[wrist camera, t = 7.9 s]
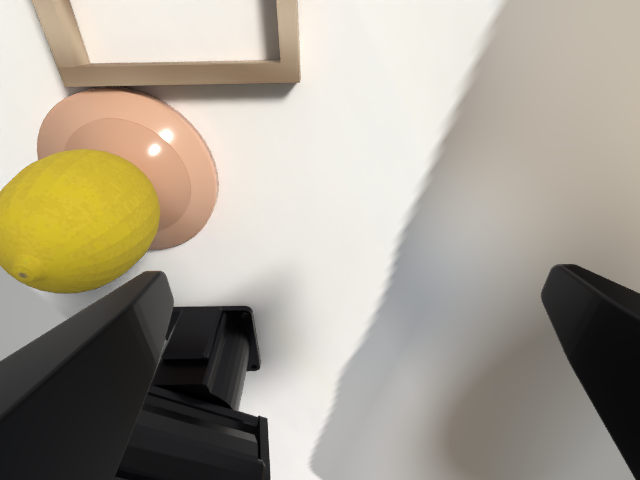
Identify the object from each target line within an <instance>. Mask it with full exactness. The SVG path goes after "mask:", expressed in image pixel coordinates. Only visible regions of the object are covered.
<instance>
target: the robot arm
mask: <svg viewBox="0 0 640 480" xmlns="http://www.w3.org/2000/svg"><path fill="white" fill-rule="evenodd" d="M541 299H542V303H543V305H544V307H545V309H546V312H547V314H548V316H549V319H550V321H551V323H552V326H553V328H554V330H555V332H556V334H557V337H558V339H559V341H560V343H561V346H562V348H563V351H564V353H565V355H566V357H567V359H568V361H569V363H570V365H571V366H572V368H573V370H574V372H575V374H576V376H577V377H578V379H579V381H580V383H581V384H582V386H583V388H584V390H585V391H586V393H587V395H588V397H589V399H590V400H591V402H592V404H593V406H594V407H595V409H596V410H597V413H598V414H599V416H600V418H601V420H602V421H603V423H604V425H605V427H606V428H607V430H608V432H609V434H610V435H611V437H612V439H613V441H614V442H615V444H616V446H617V447H618V450H619V451H620V453H621V455H622V457H623V458H624V460H625V462H626V464H627V465H628V467H629V469H630V471H631V472H632V474H633V476H634V478H635V479H636V480H640V293H637V292H635V291H633V290H631V289H629V288H626V287H624V286H622V285H620V284H617V283H615V282H613V281H611V280H609V279H606V278H604V277H602V276H600V275H597V274H595V273H593V272H591V271H589V270H586V269H584V268H582V267H580V266H577V265H575V264H557V265H555V266H553V267H552V268H551V270H550V272H549V275H548V277H547V280H546V282H545V284H544V287H543V289H542V292H541ZM173 304H174V301H173V296H172V293H171V289H170V286H169V283H168V280H167V277H166V275H165V273H164V272H162V271H146V272H143V273H141V274H140V275H138V276H136V277H135V278H133V279H132V280H130V281H128V282H127V283H125V284H124V285H122V286H120V287H119V288H117V289H116V290H114V291H112V292H111V293H109V294H108V295H106V296H104V297H103V298H101V299H100V300H98V301H96V302H95V303H93V304H92V305H90V306H88V307H87V308H85V309H83V310H82V311H80V312H79V313H77V314H75V315H74V316H72V317H71V318H69V319H67V320H66V321H64V322H63V323H61V324H60V325H58V326H56V327H55V328H53V329H51V330H50V331H48V332H47V333H45V334H43V335H42V336H40V337H39V338H37V339H35V340H34V341H32V342H30V343H29V344H27V345H26V346H24V347H22V348H21V349H19V350H18V351H16V352H14V353H13V354H11V355H10V356H8V357H7V358H5V359H3V360H2V361H0V480H270V459H269V441H268V422H267V418H265V417H261V416H258V417H256V416H253V415H249V414H246V413H243V412H240V411H239V405H240V400H241V395H242V390H243V385H244V380H245V375H246V371H257V370H259V369H260V365H261V360H260V354H259V348H258V342H257V335H256V329H255V323H254V317H253V311H252V309H251V308H250V307H247V306H221V307H173ZM244 313H247V314H244ZM165 337H166V340H167V343H166V345H165V347H164V349H163V352H162V348H163V344H164V340H165ZM161 352H162V354H161ZM160 355H161V358H160ZM159 359H160V360H159Z"/></svg>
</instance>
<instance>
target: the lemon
mask: <svg viewBox="0 0 640 480" xmlns="http://www.w3.org/2000/svg"><path fill="white" fill-rule="evenodd" d="M159 219H160V206H159V200H158V196H157V193H156V191H155V189H154V187H153V185H152V183H151V182H150V180H149V179H148V178H147V176H146V175H145V174H144V173H143V172H142V171H141V170H140V169H139V168H138V167H136V166H135V165H134V164H133V163H131V162H129V161H128V160H126V159H124V158H123V157H120V156H117V155H114V154H112V153H109V152H106V151H99V150H92V149H79V150H69V151H62V152H58V153H55V154H52V155H50V156H47V157H45V158H43V159H40V160H38V161H36V162H34V163H32V164H30V165H29V166H27V167H25V168H24V169H23V170H22V171H20V172H19V173H18V174H17V175H16V176H15V177H14V178H13V179H12V180H11V181H10V182H9V183H8V184H7V185H6V186H5V187H4V188H3V189H2V190H1V191H0V266H1V267H2V268H3V269H4V270H5V271H6V272H7V273H8V274H10V275H11V276H12V277H14V278H15V279H17V280H18V281H20V282H22V283H24V284H26V285H28V286H30V287H33V288H35V289H38V290H42V291H48V292H53V293H79V292H84V291H89V290H93V289H96V288H99V287H101V286H103V285H105V284H107V283H109V282H111V281H113V280H115V279H117V278H118V277H120V276H121V275H123V274H124V273H125V272H127V271H128V270H129V269H130V268H131V267H132V266H133V265H134V264H135V263H136V262H137V261H138V260H139V259H140V258H141V257H142V256H143V255H144V254H145V253H146V252H147V250H148V249H149V247H150V245H151V243H152V241H153V239H154V237H155V235H156V233H157V230H158V226H159Z"/></svg>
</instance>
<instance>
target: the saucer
mask: <svg viewBox="0 0 640 480" xmlns="http://www.w3.org/2000/svg"><path fill="white" fill-rule="evenodd" d="M79 149H92V150H99V151H106V152H109V153H112V154H114V155H117V156H120V157H123V158H124V159H126V160H128V161H129V162H131V163H133V164H134V165H135V166H136V167H138V168H139V169H140V170H141V171H142V172H143V173H144V174H145V175H146V176H147V178H148V179H149V180H150V182H151V183H152V185H153V187H154V189H155V191H156V193H157V196H158V200H159V206H160V219H159V226H158V230H157V233H156V235H155V237H154V239H153V241H152V243H151V245H150V247H149V249H148V250H157V249H165V248H170V247H174V246H177V245H180V244H182V243H184V242H186V241H188V240H189V239H191V238H192V237H194V236H195V235H196V234H197V233H198V232H200V231H201V229H202V228H203V227H204V226H205V224H206V223H207V221H208V219H209V217H210V216H211V214H212V212H213V210H214V207H215V204H216V202H217V197H218V186H219V182H218V173H217V169H216V165H215V162H214V159H213V156H212V154H211V152H210V150H209V148H208V146H207V144H206V142H205V141H204V139H203V138H202V136H201V135H200V134H199V132H198V131H197V130H196V129H195V128H194V126H193V125H192V124H191V123H190V122H189V121H188V120H187V119H186V118H185V117H184V116H183V115H181V114H180V113H179V112H178V111H176V110H175V109H174V108H172V107H171V106H170V105H168V104H166V103H164V102H163V101H161V100H159V99H157V98H155V97H153V96H151V95H148V94H146V93H143V92H140V91H137V90H134V89H128V88H123V87H109V86H108V87H97V88H93V89H89V90H85V91H82V92H79V93H76V94H73V95H71V96H69V97H67V98H65V99H63V100H62V101H60V102H59V103H57V104H56V105H55V106H54V107H53V108H52V109H51V110H50V111H49V113H48V114H47V116H46V117H45V119H44V120H43V123H42V125H41V127H40V130H39V135H38V140H37V154H38V160H40V159H43V158H45V157H47V156H50V155H52V154H55V153H58V152H62V151H69V150H79Z"/></svg>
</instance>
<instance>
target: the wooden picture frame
mask: <svg viewBox="0 0 640 480" xmlns="http://www.w3.org/2000/svg"><path fill="white" fill-rule="evenodd" d="M32 1H33V4H34V7H35V9H36V12H37V15H38V17H39V20H40V23H41V25H42V28H43V30H44V33H45V36H46V38H47V41H48V44H49V46H50V49H51V52H52V54H53V57H54V60H55V62H56V65H57V68H58V70H59V73H60V75H61V78H62V81H63V83H64V86H65V87H84V86H139V85H194V84H249V83H300V79H301V75H300V51H299V27H298V3H297V0H276V4H277V19H278V33H279V48H280V60H262V61H207V62H152V63H97V64H90V61H89V58H88V55H87V52H86V49H85V46H84V43H83V40H82V37H81V34H80V31H79V28H78V25H77V22H76V19H75V16H74V13H73V10H72V7H71V4H70V1H69V0H32Z"/></svg>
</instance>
